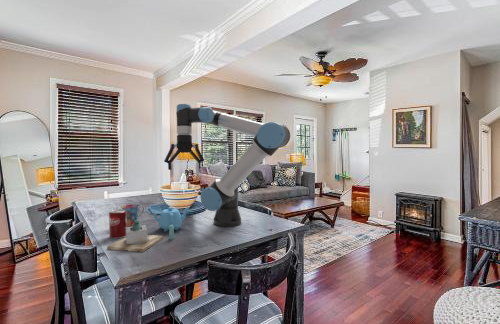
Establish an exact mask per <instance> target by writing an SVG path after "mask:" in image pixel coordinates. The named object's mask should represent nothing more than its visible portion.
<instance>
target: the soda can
mask: <svg viewBox="0 0 500 324" xmlns="http://www.w3.org/2000/svg"><path fill="white" fill-rule="evenodd" d="M108 222H109V223H108V224H109V225H108V227H109V228H108V229H109V238H111V239H112V240H118V239H119V240H120V239H123V238H125V237H126V227H127V212H126V210H123V209H122V208H121V209H113V210H111V211H109V212H108Z"/></svg>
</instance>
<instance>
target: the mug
mask: <svg viewBox="0 0 500 324" xmlns="http://www.w3.org/2000/svg"><path fill="white" fill-rule="evenodd" d="M141 208H142V210H141V212H140V214H139V211H140V209H141ZM121 209H122V210H126V212H127V227H132V224H134V220H139V223H140V224H141V221H140V218H139V217H140V216H142V214H143V212H144V209H145V207H144V206H142V205H141V204H139V203H134V204H133V203H132V204H131V203H130V204H124V205H122V206H121Z"/></svg>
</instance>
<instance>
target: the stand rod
mask: <svg viewBox="0 0 500 324" xmlns="http://www.w3.org/2000/svg"><path fill="white" fill-rule="evenodd" d="M174 232H175V230H174V226H173V225H170V226H169V229H168V238H169V240H171V241H172V240H174V239H175V233H174Z"/></svg>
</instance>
